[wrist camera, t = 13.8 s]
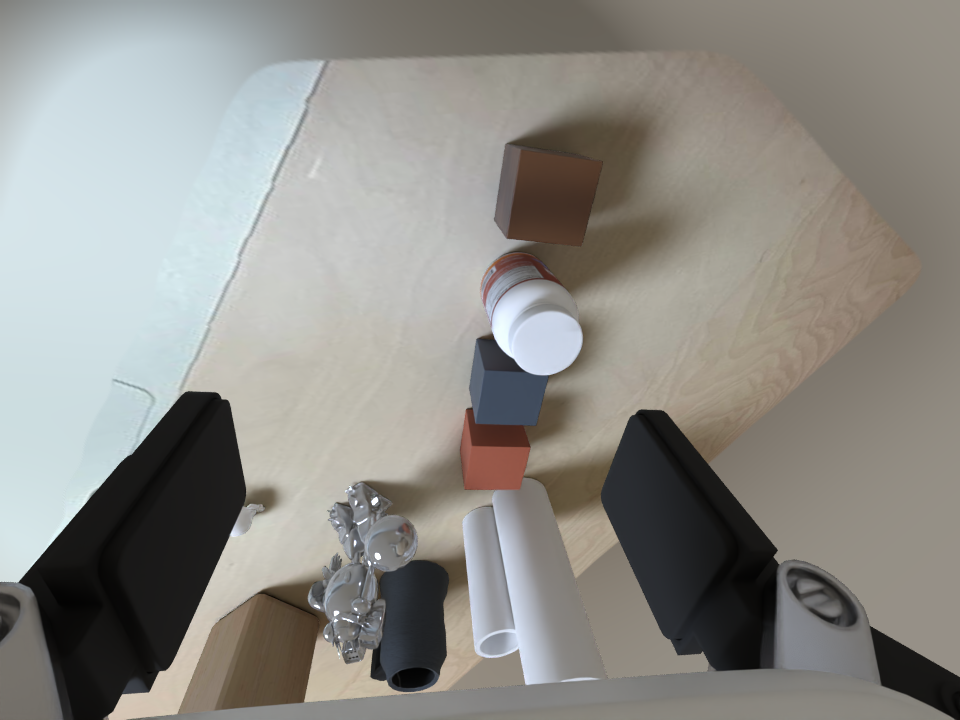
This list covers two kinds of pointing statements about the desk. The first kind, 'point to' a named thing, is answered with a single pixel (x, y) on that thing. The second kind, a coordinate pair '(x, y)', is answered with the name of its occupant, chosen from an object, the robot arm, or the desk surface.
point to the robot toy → (361, 570)
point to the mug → (412, 627)
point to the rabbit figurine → (245, 519)
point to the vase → (527, 589)
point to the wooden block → (254, 658)
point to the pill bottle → (531, 314)
